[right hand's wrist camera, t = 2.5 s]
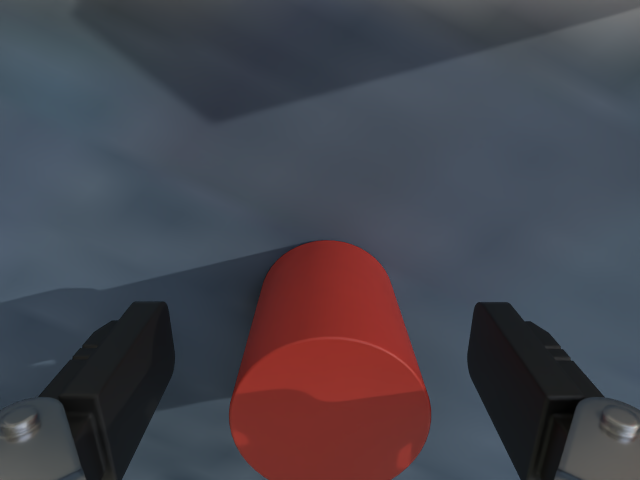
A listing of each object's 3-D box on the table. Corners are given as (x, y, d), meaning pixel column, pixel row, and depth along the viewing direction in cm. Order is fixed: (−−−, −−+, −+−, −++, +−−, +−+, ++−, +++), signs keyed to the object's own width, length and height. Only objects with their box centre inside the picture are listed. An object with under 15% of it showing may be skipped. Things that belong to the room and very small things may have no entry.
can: (350, 214, 12) (369, 300, 8) (415, 320, 14) (465, 449, 9) (234, 281, 13) (186, 397, 8) (306, 376, 14) (299, 521, 10)
